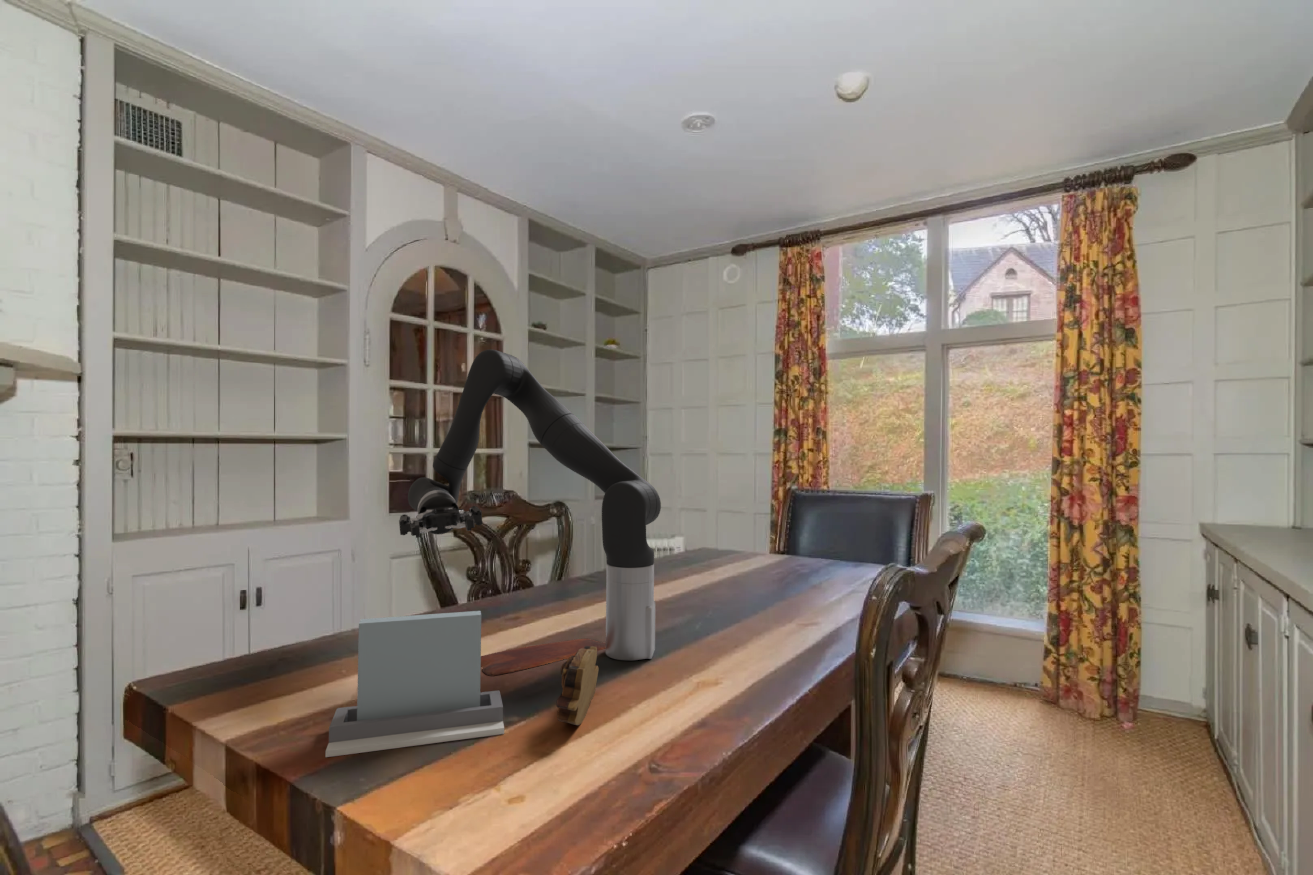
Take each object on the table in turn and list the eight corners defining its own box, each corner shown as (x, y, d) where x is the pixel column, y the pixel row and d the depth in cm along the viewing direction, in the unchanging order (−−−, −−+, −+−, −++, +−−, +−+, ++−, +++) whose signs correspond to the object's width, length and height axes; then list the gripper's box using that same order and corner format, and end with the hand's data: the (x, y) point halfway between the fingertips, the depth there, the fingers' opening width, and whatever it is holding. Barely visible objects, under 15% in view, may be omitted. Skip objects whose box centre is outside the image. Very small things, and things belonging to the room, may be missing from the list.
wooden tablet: (491, 681, 107) (491, 671, 107) (467, 665, 115) (467, 656, 115) (617, 651, 124) (617, 642, 124) (589, 638, 132) (589, 630, 132)
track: (497, 703, 96) (498, 684, 97) (504, 733, 86) (504, 713, 86) (339, 721, 89) (339, 701, 90) (325, 757, 79) (325, 734, 79)
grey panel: (477, 696, 97) (478, 601, 98) (479, 717, 89) (481, 615, 90) (363, 708, 92) (365, 609, 92) (356, 733, 84) (358, 624, 84)
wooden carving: (571, 696, 100) (571, 632, 100) (599, 696, 99) (600, 633, 100) (550, 744, 83) (551, 668, 83) (584, 745, 83) (585, 669, 83)
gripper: (397, 496, 121) (397, 512, 106) (473, 488, 126) (484, 502, 111) (401, 534, 122) (401, 555, 107) (476, 524, 127) (487, 543, 112)
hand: (443, 528), depth 109 cm, fingers open, 8 cm apart
